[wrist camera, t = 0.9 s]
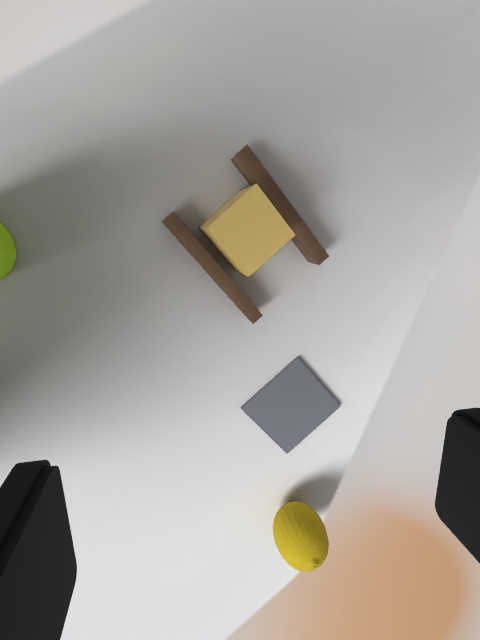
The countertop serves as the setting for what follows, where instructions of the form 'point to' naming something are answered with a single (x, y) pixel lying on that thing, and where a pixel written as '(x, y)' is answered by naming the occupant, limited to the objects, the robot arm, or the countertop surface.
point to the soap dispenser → (6, 251)
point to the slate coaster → (291, 405)
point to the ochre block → (248, 230)
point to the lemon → (300, 536)
